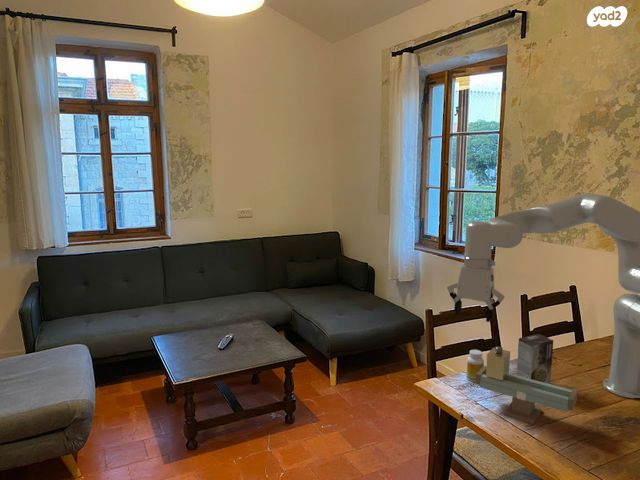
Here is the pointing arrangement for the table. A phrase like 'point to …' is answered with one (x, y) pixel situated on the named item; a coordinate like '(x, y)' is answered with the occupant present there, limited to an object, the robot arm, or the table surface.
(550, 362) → the coffee box
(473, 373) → the supplement bottle
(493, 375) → the block
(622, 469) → the table surface
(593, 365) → the table surface
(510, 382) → the beam
